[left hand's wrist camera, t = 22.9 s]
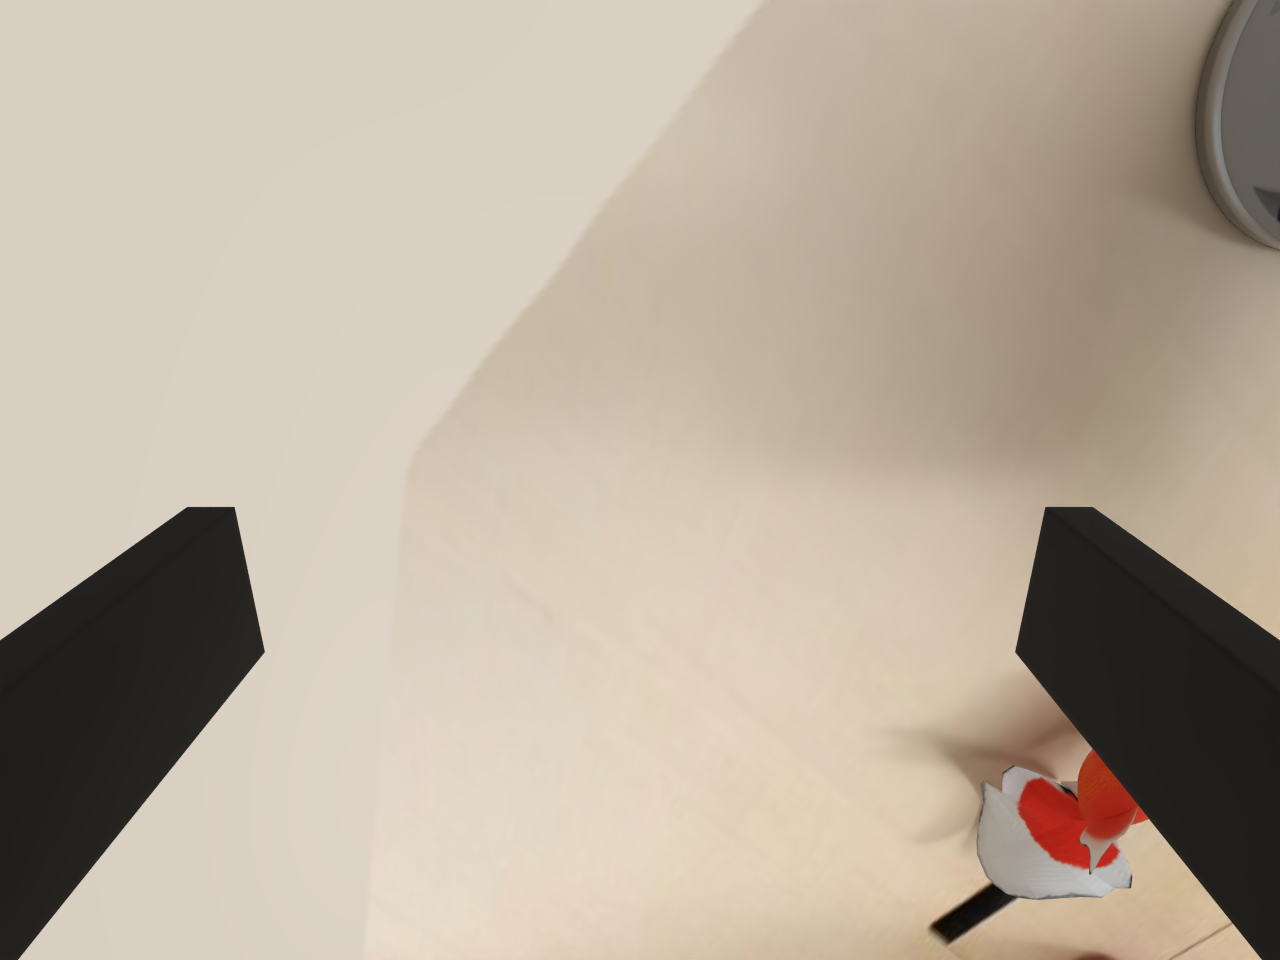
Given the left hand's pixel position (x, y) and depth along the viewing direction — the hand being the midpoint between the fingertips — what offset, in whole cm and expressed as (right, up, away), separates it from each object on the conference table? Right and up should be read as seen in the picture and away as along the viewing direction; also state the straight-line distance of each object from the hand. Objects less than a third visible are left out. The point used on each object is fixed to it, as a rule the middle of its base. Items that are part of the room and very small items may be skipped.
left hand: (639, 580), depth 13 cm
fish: (+26, -16, +36) cm, 48 cm away
